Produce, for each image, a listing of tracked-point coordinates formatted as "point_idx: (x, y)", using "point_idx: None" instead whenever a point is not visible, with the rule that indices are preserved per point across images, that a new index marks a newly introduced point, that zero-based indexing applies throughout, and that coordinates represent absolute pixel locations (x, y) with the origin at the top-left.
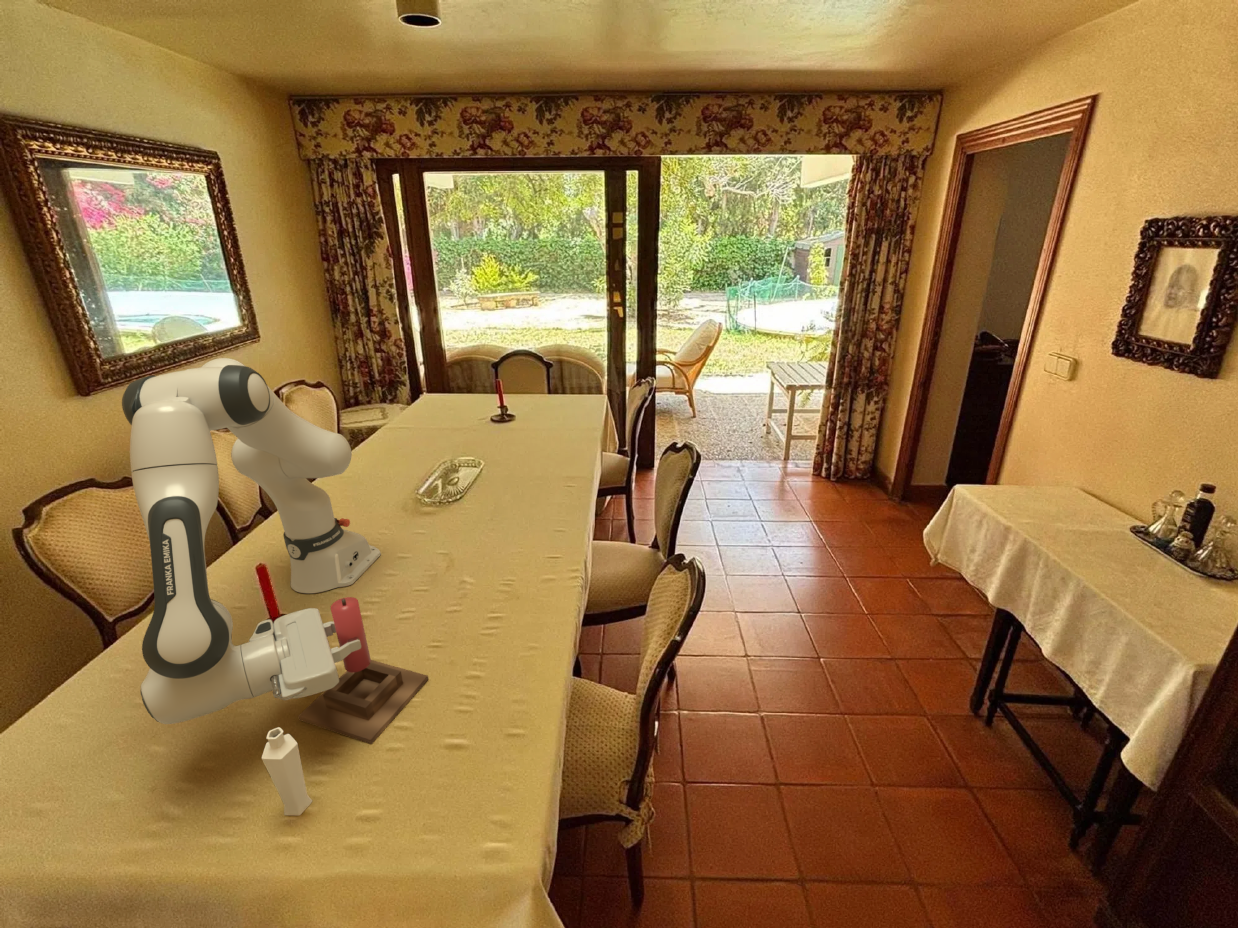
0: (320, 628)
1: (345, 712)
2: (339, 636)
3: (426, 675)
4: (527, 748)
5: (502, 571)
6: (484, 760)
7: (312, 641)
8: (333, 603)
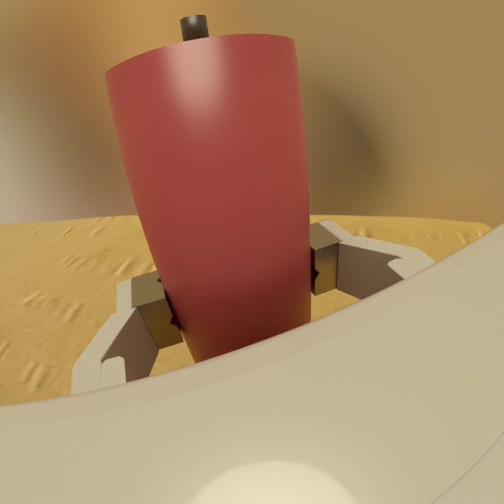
0: (166, 388)
1: None
2: (298, 269)
3: None
4: (384, 227)
5: (47, 267)
6: None
7: (394, 400)
8: (137, 56)
